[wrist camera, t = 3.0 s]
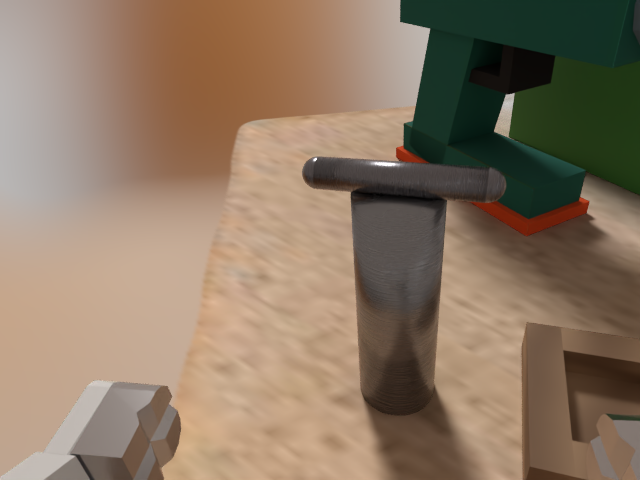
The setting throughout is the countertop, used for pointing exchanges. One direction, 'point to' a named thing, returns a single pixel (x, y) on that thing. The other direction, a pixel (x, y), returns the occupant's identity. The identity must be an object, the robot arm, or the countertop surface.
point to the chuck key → (400, 264)
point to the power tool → (508, 90)
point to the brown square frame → (572, 395)
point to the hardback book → (585, 119)
